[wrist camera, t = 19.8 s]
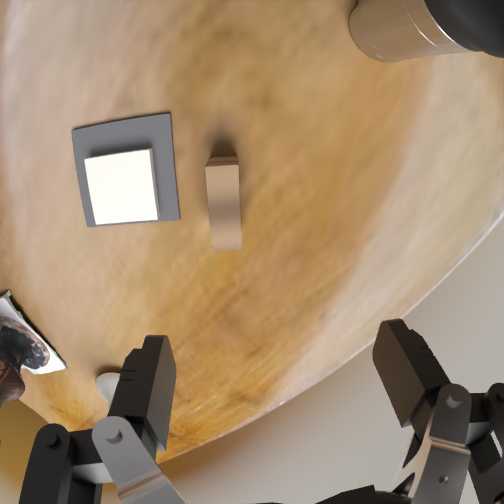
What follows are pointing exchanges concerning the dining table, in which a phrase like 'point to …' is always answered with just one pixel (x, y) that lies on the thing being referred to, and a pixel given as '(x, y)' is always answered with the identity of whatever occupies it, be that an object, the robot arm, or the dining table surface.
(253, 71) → the dining table surface
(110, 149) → the mat
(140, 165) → the tile
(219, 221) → the brown rectangular block
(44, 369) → the head bust
